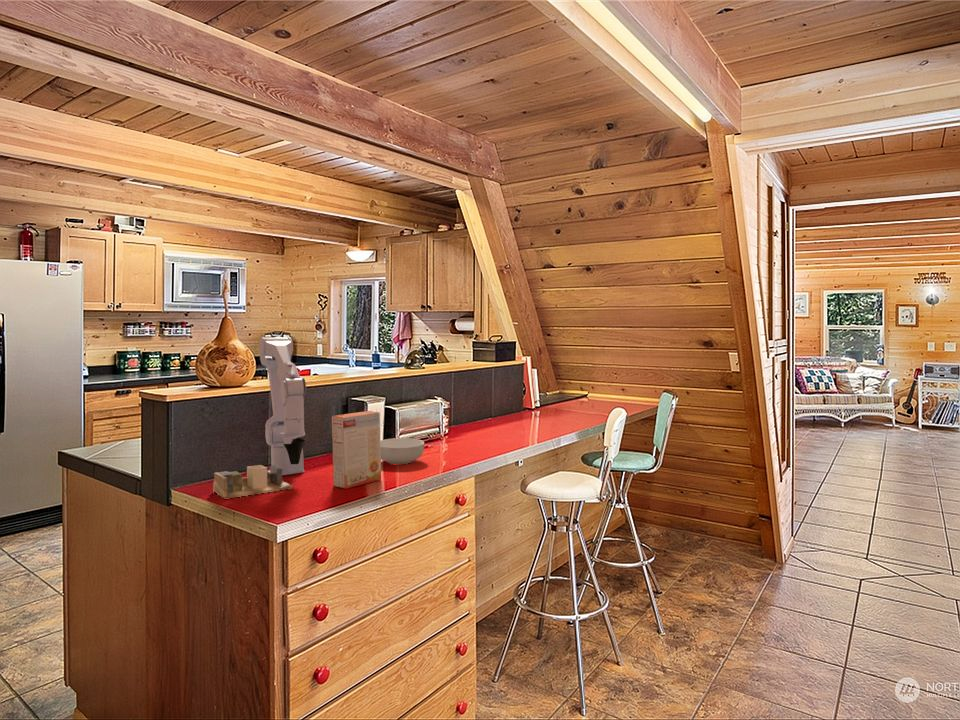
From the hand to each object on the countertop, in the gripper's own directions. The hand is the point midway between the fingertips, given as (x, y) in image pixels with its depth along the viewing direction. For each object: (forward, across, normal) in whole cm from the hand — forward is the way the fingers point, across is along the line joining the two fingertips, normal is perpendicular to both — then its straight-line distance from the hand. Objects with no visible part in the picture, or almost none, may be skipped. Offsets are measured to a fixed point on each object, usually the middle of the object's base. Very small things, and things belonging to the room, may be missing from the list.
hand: (294, 463), depth 189 cm
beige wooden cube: (+5, +7, -9) cm, 12 cm away
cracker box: (+6, 0, +19) cm, 20 cm away
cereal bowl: (+6, -29, +28) cm, 40 cm away
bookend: (+5, +4, -4) cm, 7 cm away
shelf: (+6, +9, -9) cm, 14 cm away
